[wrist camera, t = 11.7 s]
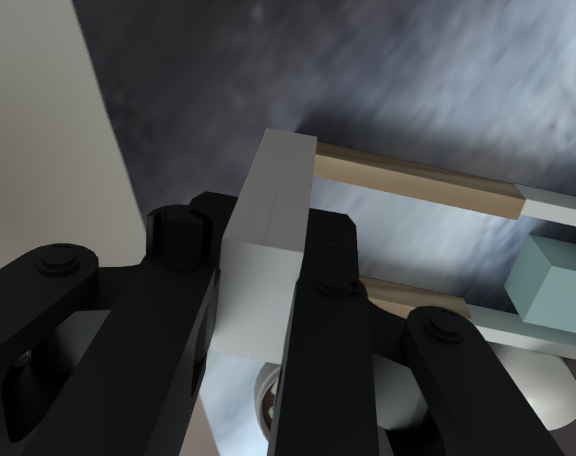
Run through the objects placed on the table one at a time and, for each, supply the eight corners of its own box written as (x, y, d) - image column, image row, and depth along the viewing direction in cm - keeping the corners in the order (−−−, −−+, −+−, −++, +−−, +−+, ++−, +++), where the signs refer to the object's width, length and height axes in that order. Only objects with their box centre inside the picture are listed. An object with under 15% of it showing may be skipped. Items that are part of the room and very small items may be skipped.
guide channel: (292, 135, 39) (289, 148, 36) (513, 184, 39) (526, 200, 37) (263, 271, 44) (259, 291, 42) (456, 312, 45) (464, 335, 42)
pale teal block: (528, 233, 41) (551, 265, 37) (588, 246, 41) (619, 280, 37) (503, 285, 44) (522, 321, 39) (560, 297, 44) (587, 335, 39)
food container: (240, 308, 46) (218, 389, 38) (300, 281, 45) (293, 360, 36) (305, 401, 51) (300, 494, 42) (363, 380, 49) (370, 473, 40)
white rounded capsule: (503, 323, 45) (526, 371, 40) (566, 336, 45) (597, 386, 40) (479, 371, 48) (498, 422, 42) (538, 384, 48) (565, 436, 43)
